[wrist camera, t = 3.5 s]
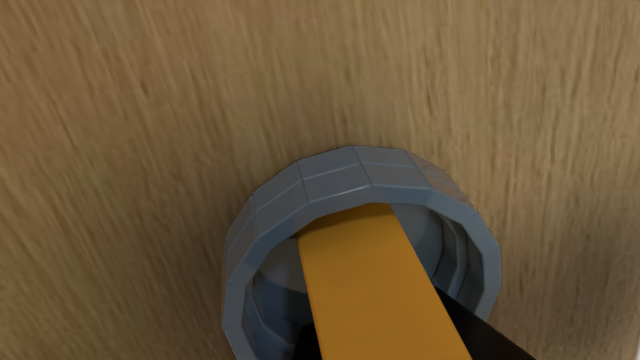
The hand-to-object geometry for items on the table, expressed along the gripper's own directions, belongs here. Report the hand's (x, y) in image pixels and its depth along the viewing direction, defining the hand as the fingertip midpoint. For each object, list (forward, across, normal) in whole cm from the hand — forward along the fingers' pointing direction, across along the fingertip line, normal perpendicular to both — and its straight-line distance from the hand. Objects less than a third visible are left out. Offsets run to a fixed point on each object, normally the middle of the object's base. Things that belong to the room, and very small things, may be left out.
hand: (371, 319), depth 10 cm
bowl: (+2, 0, 0) cm, 2 cm away
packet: (+2, 0, 0) cm, 2 cm away
